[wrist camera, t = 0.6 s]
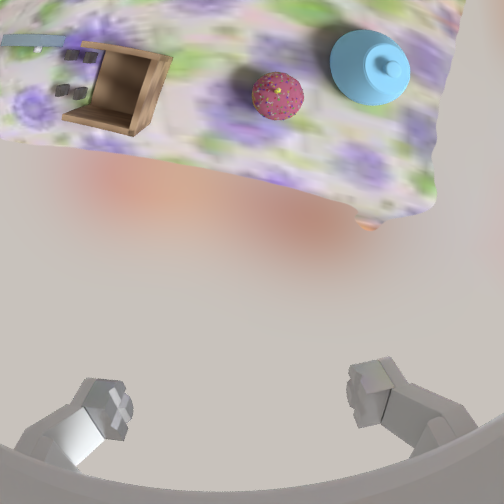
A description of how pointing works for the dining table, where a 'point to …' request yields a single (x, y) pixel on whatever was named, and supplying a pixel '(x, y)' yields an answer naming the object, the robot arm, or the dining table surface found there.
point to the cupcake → (277, 96)
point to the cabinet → (119, 88)
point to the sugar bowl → (369, 67)
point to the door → (33, 40)
